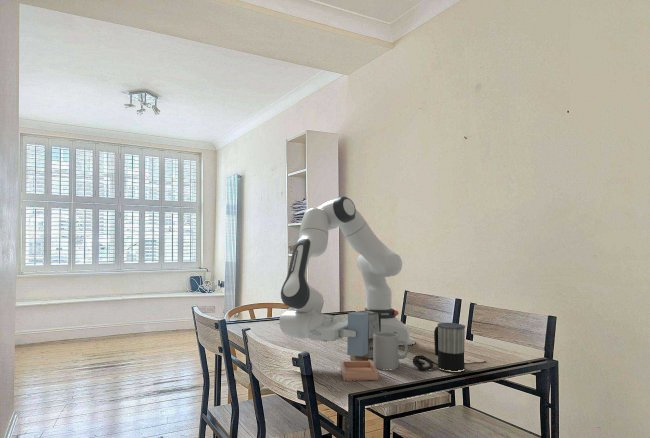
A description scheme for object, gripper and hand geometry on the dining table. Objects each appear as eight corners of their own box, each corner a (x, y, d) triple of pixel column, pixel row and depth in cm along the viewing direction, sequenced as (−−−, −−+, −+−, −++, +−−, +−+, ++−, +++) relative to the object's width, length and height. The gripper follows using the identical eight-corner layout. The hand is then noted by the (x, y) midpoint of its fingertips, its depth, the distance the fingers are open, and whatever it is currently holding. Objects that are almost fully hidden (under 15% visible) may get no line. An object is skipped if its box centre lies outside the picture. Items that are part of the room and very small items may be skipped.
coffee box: (381, 356, 166) (381, 313, 167) (368, 359, 162) (368, 314, 163) (365, 351, 173) (365, 310, 174) (352, 353, 170) (353, 311, 171)
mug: (376, 370, 147) (376, 337, 148) (370, 363, 156) (370, 332, 156) (411, 370, 149) (411, 336, 149) (404, 363, 157) (404, 331, 158)
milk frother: (471, 370, 148) (471, 325, 149) (439, 378, 140) (438, 330, 141) (439, 361, 160) (438, 319, 161) (407, 367, 152) (407, 323, 152)
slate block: (353, 351, 146) (354, 311, 147) (367, 353, 144) (368, 312, 145) (347, 354, 142) (347, 313, 143) (361, 356, 140) (362, 314, 140)
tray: (372, 368, 150) (372, 360, 150) (378, 380, 136) (378, 372, 136) (340, 368, 149) (340, 360, 150) (343, 380, 136) (343, 372, 136)
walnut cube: (363, 359, 162) (363, 345, 162) (368, 363, 157) (368, 348, 157) (350, 360, 160) (350, 346, 161) (355, 364, 156) (355, 349, 156)
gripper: (307, 322, 141) (346, 327, 134) (336, 314, 159) (372, 318, 152) (306, 342, 140) (346, 348, 134) (336, 332, 158) (372, 336, 152)
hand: (360, 332), depth 143 cm, fingers closed on slate block, 5 cm apart
